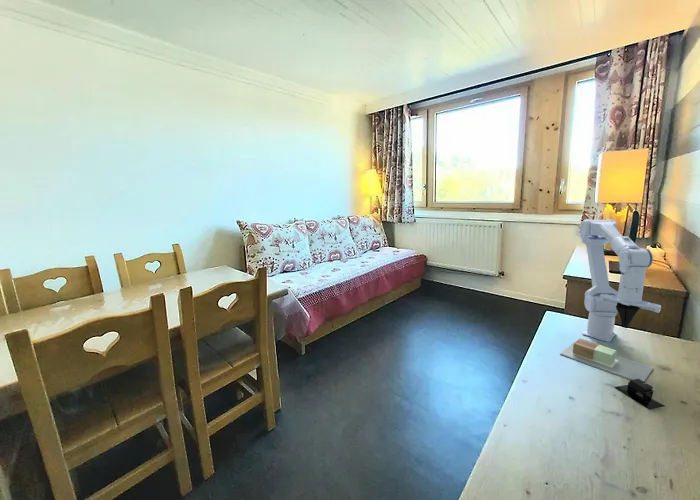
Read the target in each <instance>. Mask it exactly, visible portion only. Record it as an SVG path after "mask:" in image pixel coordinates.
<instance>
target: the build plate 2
mask: <svg viewBox="0 0 700 500" xmlns="http://www.w3.org/2000/svg"><path fill="white" fill-rule="evenodd" d="M613 388H614V389H615V390H616V391H618V392H620V393H622V395H624V396H626V397H628V398H630V399H631V400H633V401H634V402H636V403H637V404H639V405H641V406H642V407H644V408H645V409H647V410H648V411H650V410H656V409H660V408H666V405H665V404H663V403H662V402H659V400H656V399H655V398H653V397H654V390H653V389H654V388H653V386H652V385H650V383H645V382H644V381H642V380H640V379H634V380H629V382H628V383H627V384H625V385H618V386H613Z"/></svg>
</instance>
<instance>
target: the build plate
mask: <svg viewBox="0 0 700 500" xmlns="http://www.w3.org/2000/svg"><path fill="white" fill-rule="evenodd" d="M575 342H576V341H573V342H572V343H571V344H570V345H568V347H566V348H565V349H564V350H563V351H561V352H560V354H559V355H561V356H563V357H567V358H569V359H571V360H574V361H577V362H580V363H583V364H585V365H588V366H591V367H594V368H597V369H599V370H601V371H605V372H607V373H610V374H613V375H616V376H619V377H621V378H625V379H627V380H629V381H630V380H634V379H640V380H642V381H644V383H645V382H646V381H647V379H648V377H649V376H650V374H651V373H652V371H653V370H654V367H653V366H649V365H646V364H644V363H640V362H637V361H635V360H634V361H633V360H630V359H629V358H628V359H627V358H624V357H622V356H619V355H616V356H615V361H614V362H613V363H612V364H611V365H607V364H604V363H601V362H598V361H595V360H591V359H588V358H585V357H582V356H579V355H577V354H574V353H573V345H574V343H575Z"/></svg>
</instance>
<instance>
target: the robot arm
mask: <svg viewBox="0 0 700 500" xmlns="http://www.w3.org/2000/svg"><path fill="white" fill-rule="evenodd" d="M579 232H580V240H581V243H583V244H584V245H585V247H586V253H587V259H588V265H589V266H588V267H589V272H590V278H591V286H592V287H590V288H589V289H587V290H586V291H585V293H584V307H585V309H586V310H587V311H588V312H589V313H588V318H587V328H586V329H585V330H584V331H583V332H582V335H583V336H586V337H590V338H594V339H595V340H596V339H597V340H600V341H603V342H606V343H609V342H610V341H611V340H612V339H613V338H614V337H615V336H616V335H617V332H614V328H615V322H616V316H617V314H618V315H619V317H620V322H621V327H622V328H623V329H629V328H630V324H631V322H632V320H633V319H634V317H635V315H636V314H637V313H638V312H639V311H640V310H641V309H643V310H647V311H652V312H654V313H657V314H659V313H660V312H661V309H662V305H660V304H657V303H653V302H649V301H646V300H642V298H643V294H644V293H643V292H644V287H645V286H644V285H645V281H646V280H645V279H646V273H647V269H648V268H650V267H651V266H652V265H653V261H654V255H653V253H652V251H651V250H650V249H649V248H642V247H640V246H638V245H637V244H636V243H635V242H634V241H633V240H632V239H631V237H629V235H628V236H627V235H626V236H624V235H622V234H621V233H620V232H619V230H618V223H617V222H616V220H615V219H613V218H612V219H611V218H610V219H583V221H582V222H581V223H580V228H579ZM609 243H610V245H609V246H610V249H612V251H613V252H614V253H615V254H616V256H617V257H618V264H619V269H618V270H619V271H620V279H619V284H618V290H616V289H614V288H613V287H611V286H610V282H609V281H610V280H609V275H608V271H607V263H606V258H605V252H604V245H607V244H609Z"/></svg>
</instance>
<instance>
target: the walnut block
mask: <svg viewBox="0 0 700 500" xmlns="http://www.w3.org/2000/svg"><path fill="white" fill-rule="evenodd" d="M574 342H575V343H574ZM574 342H573V343H574V345H573V353H574V354H577V355H579V356H582V357H585V358H588V359H591V360H593V353H594V349H595V348H596V347H597V346H598V345H600V344H599V343H597V342H594V341H590V340H587V339H585V338H581V337H580V338H578V339H577V340H576V341H574Z"/></svg>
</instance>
